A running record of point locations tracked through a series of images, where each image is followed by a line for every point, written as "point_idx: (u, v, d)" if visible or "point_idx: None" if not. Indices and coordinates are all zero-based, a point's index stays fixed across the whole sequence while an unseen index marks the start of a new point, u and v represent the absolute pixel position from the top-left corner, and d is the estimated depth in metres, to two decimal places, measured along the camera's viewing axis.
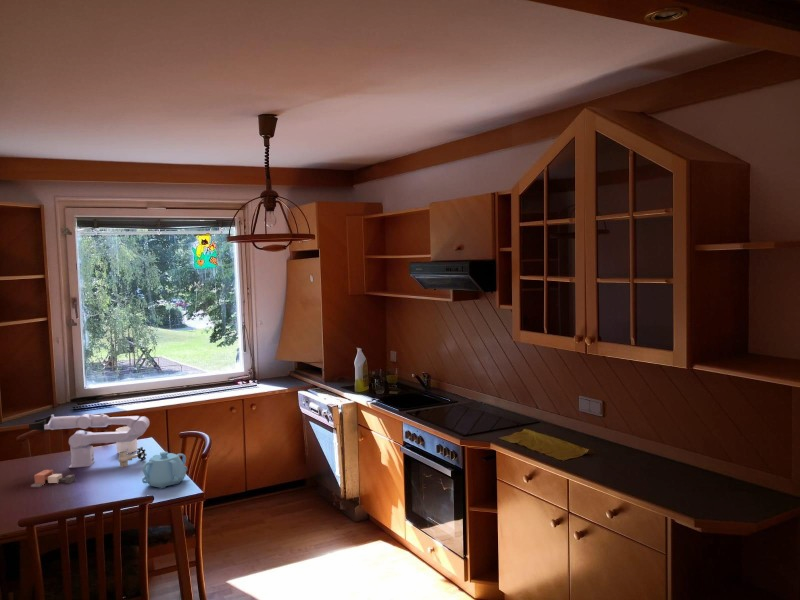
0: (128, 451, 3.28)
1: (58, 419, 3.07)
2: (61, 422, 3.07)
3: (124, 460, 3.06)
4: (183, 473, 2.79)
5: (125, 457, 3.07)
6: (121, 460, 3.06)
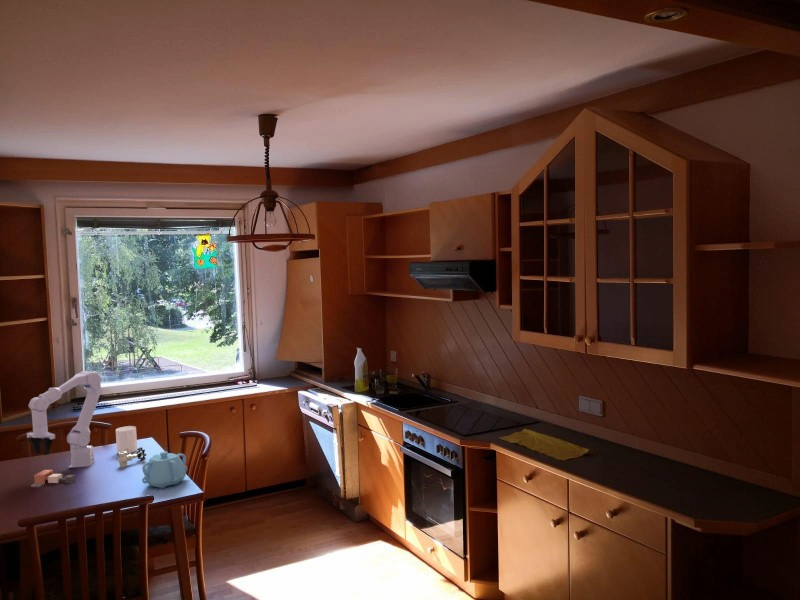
0: (128, 451, 3.28)
1: (39, 429, 2.94)
2: (43, 425, 2.95)
3: (124, 460, 3.06)
4: (183, 473, 2.79)
5: (125, 457, 3.06)
6: (121, 460, 3.05)
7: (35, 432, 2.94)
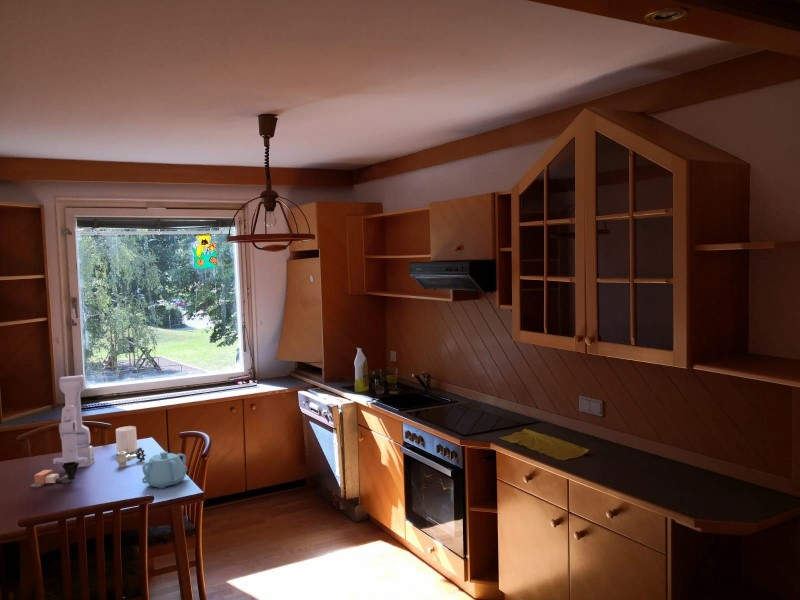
0: (128, 451, 3.28)
1: (71, 453, 2.85)
2: (74, 449, 2.86)
3: (122, 461, 3.05)
4: (183, 473, 2.79)
5: (124, 458, 3.06)
6: (120, 461, 3.05)
7: (66, 457, 2.84)
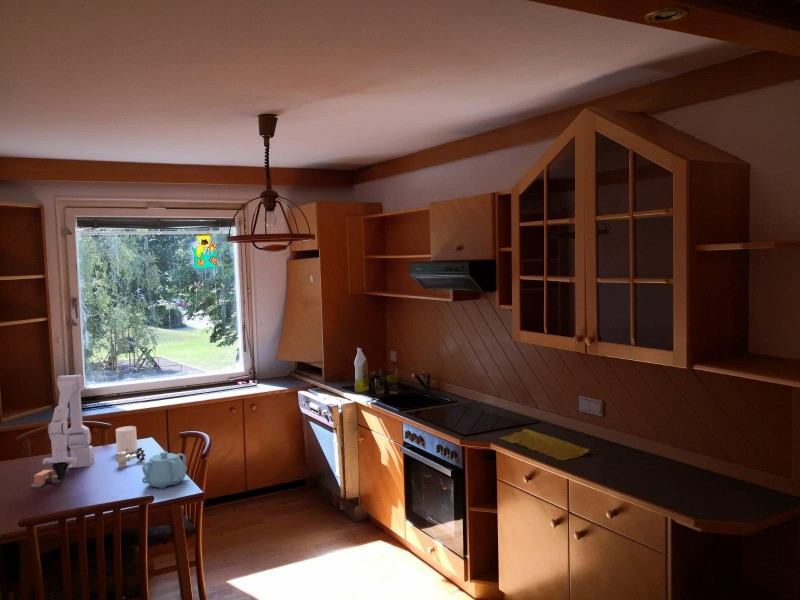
0: (128, 451, 3.28)
1: (61, 453, 2.85)
2: (64, 449, 2.86)
3: (122, 461, 3.05)
4: (183, 473, 2.79)
5: (123, 458, 3.06)
6: (120, 461, 3.05)
7: (56, 457, 2.85)
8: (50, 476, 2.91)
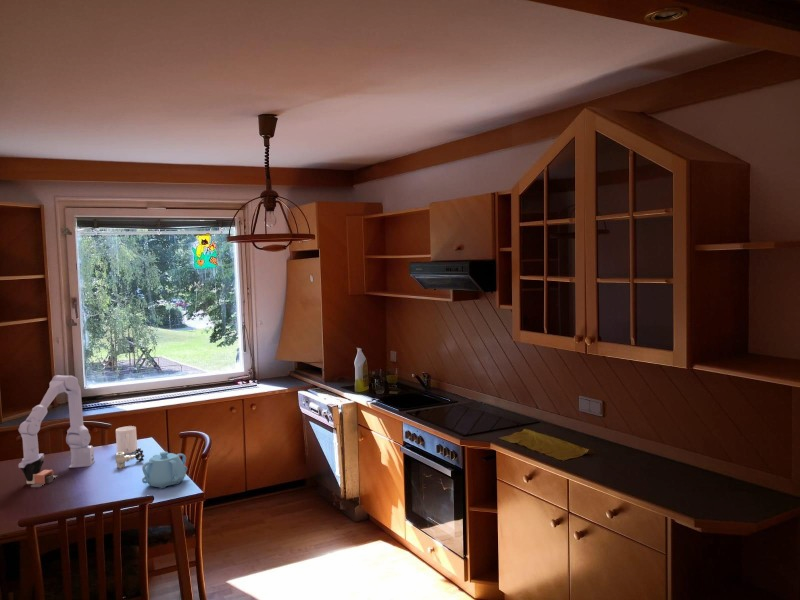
0: (128, 451, 3.28)
1: None
2: (25, 450, 2.86)
3: (121, 461, 3.05)
4: (183, 473, 2.79)
5: (122, 458, 3.05)
6: (118, 461, 3.04)
7: None
8: None
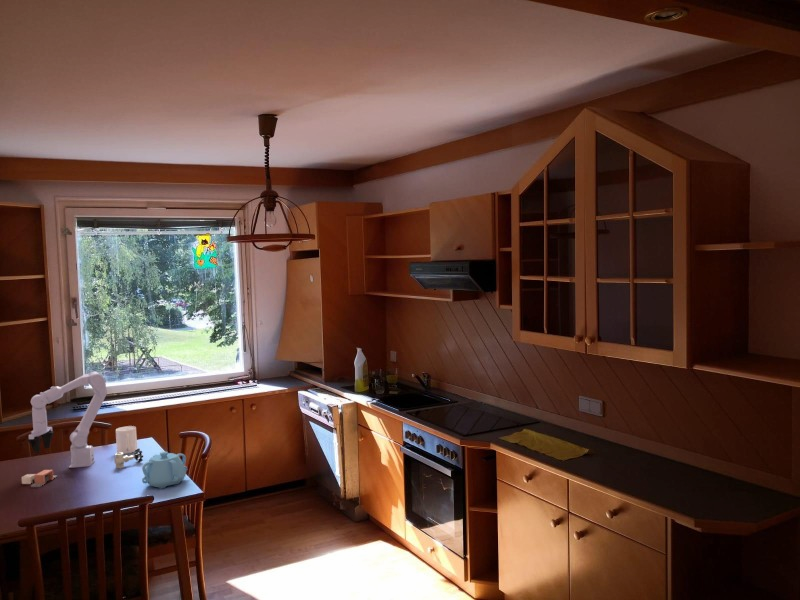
0: (128, 451, 3.28)
1: (33, 426, 3.00)
2: (34, 423, 2.99)
3: (120, 462, 3.04)
4: (183, 473, 2.79)
5: (121, 459, 3.04)
6: (117, 462, 3.04)
7: None
8: (50, 476, 2.91)
